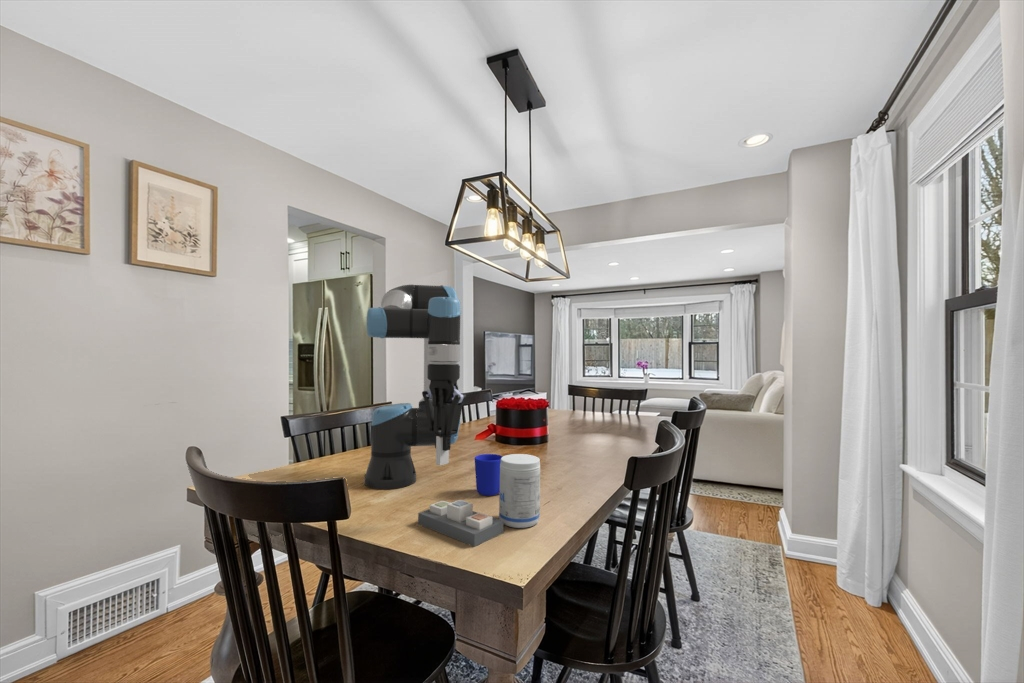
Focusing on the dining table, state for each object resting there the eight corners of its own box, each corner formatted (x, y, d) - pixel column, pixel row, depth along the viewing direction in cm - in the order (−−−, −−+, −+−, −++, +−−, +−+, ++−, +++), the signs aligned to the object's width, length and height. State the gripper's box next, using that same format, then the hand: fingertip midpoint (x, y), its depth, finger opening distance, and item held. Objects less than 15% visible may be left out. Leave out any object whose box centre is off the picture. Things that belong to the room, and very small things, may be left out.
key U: (447, 518, 96) (447, 503, 96) (460, 513, 99) (460, 498, 99) (459, 523, 94) (459, 507, 94) (472, 517, 97) (472, 502, 97)
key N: (429, 518, 100) (429, 504, 100) (442, 514, 103) (442, 499, 103) (441, 523, 97) (441, 508, 98) (454, 518, 101) (454, 503, 101)
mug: (516, 498, 117) (517, 461, 117) (472, 497, 117) (473, 460, 117) (517, 488, 125) (517, 454, 125) (475, 488, 125) (476, 453, 125)
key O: (465, 532, 92) (466, 516, 93) (478, 527, 96) (479, 511, 96) (479, 537, 90) (479, 521, 90) (492, 531, 93) (492, 516, 93)
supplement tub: (494, 515, 104) (495, 454, 104) (531, 511, 107) (531, 452, 107) (505, 531, 95) (506, 464, 95) (546, 527, 98) (546, 461, 98)
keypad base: (418, 524, 99) (418, 512, 99) (447, 512, 106) (447, 502, 106) (474, 546, 87) (474, 534, 87) (503, 532, 94) (503, 521, 94)
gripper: (413, 362, 102) (412, 461, 102) (450, 364, 94) (449, 472, 94) (437, 361, 108) (436, 455, 108) (474, 363, 100) (473, 465, 100)
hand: (442, 463), depth 101 cm, fingers closed
